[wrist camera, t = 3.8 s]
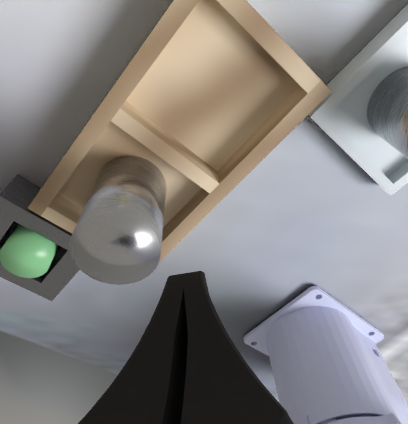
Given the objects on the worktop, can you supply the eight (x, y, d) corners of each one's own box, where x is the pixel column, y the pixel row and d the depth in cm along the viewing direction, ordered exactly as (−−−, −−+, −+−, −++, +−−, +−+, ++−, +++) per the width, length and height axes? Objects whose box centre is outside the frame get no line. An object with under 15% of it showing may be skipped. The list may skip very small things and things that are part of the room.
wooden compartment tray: (315, 79, 19) (331, 91, 17) (149, 250, 25) (145, 275, 23) (202, -41, 16) (204, -44, 14) (42, 186, 22) (27, 208, 20)
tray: (494, 92, 20) (513, 99, 19) (379, 185, 23) (390, 196, 22) (423, -13, 17) (441, -13, 16) (302, 109, 20) (310, 117, 19)
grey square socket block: (104, 226, 24) (96, 250, 22) (62, 275, 26) (51, 301, 24) (17, 174, 21) (-1, 195, 19) (-21, 232, 23) (-41, 257, 21)
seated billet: (180, 182, 21) (178, 246, 16) (140, 226, 23) (127, 296, 17) (122, 141, 19) (101, 197, 14) (84, 191, 21) (52, 257, 16)
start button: (71, 227, 23) (58, 257, 21) (50, 253, 25) (35, 284, 22) (31, 204, 22) (12, 233, 20) (11, 233, 23) (-10, 263, 21)
